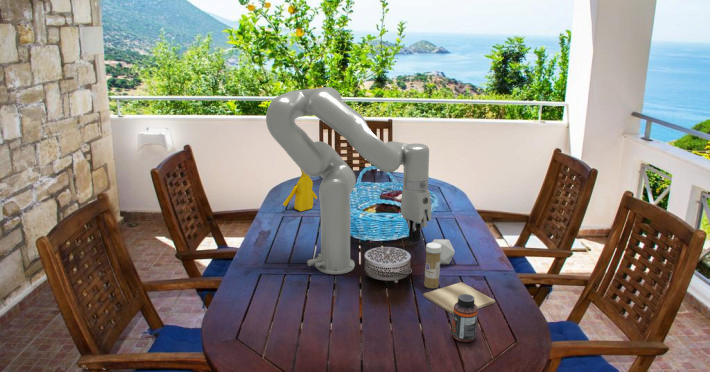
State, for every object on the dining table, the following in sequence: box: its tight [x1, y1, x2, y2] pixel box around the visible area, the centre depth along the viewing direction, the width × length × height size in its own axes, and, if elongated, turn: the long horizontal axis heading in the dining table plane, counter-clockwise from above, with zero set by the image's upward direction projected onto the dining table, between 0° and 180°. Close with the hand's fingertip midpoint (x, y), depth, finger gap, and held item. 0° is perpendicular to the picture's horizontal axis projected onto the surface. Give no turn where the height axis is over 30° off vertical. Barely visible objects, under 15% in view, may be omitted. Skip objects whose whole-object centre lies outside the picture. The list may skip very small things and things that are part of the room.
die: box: [432, 238, 456, 265], centre depth 192 cm, size 8×9×10 cm
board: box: [422, 281, 496, 315], centre depth 167 cm, size 15×14×1 cm
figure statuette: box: [282, 169, 318, 212], centre depth 240 cm, size 18×8×22 cm, turn 130°
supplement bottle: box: [451, 294, 479, 343], centre depth 146 cm, size 6×6×11 cm
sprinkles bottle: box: [423, 241, 441, 289], centre depth 174 cm, size 5×5×13 cm
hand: (414, 240), depth 180 cm, fingers closed
